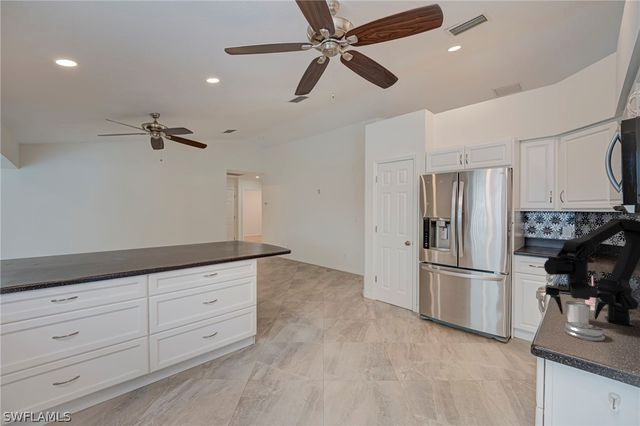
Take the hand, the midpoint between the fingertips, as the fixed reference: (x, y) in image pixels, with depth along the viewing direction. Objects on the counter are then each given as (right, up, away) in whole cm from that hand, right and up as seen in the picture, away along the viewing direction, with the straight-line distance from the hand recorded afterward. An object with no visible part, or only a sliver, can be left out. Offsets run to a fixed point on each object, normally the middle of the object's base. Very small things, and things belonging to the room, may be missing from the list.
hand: (578, 316), depth 104 cm
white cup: (0, -2, 0) cm, 2 cm away
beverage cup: (+19, -2, +14) cm, 24 cm away
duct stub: (-8, -2, -10) cm, 13 cm away
